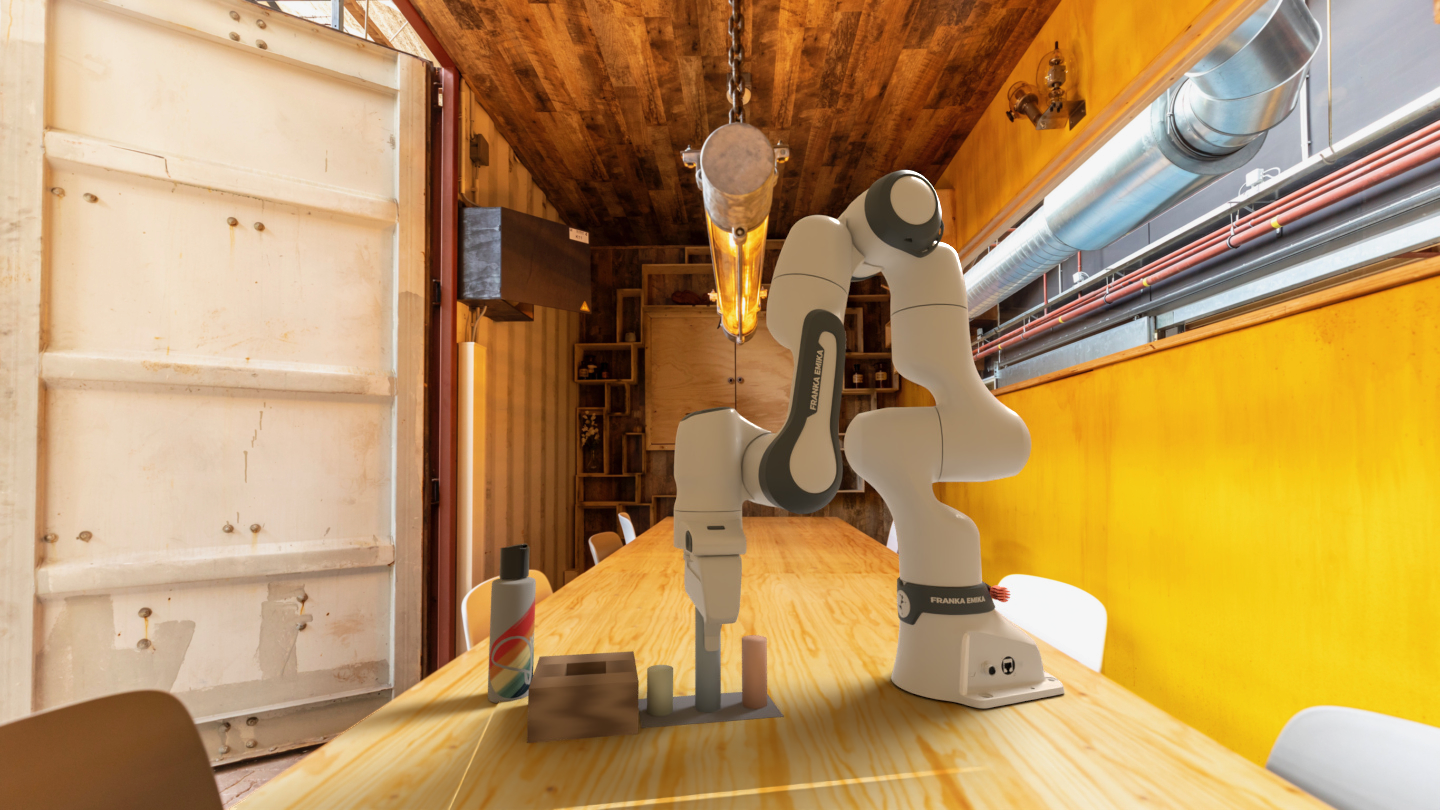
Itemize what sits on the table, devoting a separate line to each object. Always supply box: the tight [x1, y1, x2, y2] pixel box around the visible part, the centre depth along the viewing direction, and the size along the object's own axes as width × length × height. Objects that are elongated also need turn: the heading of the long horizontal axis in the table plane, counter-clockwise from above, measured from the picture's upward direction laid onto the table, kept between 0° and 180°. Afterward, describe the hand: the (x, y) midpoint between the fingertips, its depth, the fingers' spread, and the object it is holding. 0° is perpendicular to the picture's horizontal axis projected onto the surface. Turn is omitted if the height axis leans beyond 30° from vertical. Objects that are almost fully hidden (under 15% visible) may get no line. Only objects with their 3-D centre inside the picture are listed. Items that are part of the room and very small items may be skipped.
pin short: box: [646, 664, 674, 716], centre depth 76 cm, size 3×3×5 cm
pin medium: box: [741, 634, 768, 709], centre depth 78 cm, size 3×3×8 cm
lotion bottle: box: [487, 543, 537, 704], centre depth 83 cm, size 6×6×20 cm
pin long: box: [694, 605, 722, 713], centre depth 77 cm, size 3×3×14 cm
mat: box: [638, 691, 785, 729], centre depth 76 cm, size 17×9×1 cm, turn 101°
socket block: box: [526, 650, 640, 744], centre depth 74 cm, size 12×12×6 cm
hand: (708, 644), depth 77 cm, fingers closed on pin long, 3 cm apart
